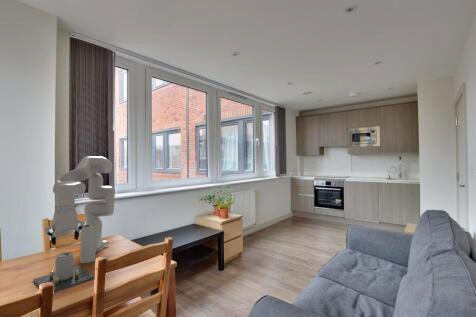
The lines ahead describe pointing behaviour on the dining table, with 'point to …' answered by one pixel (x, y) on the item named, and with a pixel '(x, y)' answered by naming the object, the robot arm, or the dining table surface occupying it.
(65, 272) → the can
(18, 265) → the dining table surface
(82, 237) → the paper towel roll
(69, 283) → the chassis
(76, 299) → the dining table surface
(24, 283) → the dining table surface
